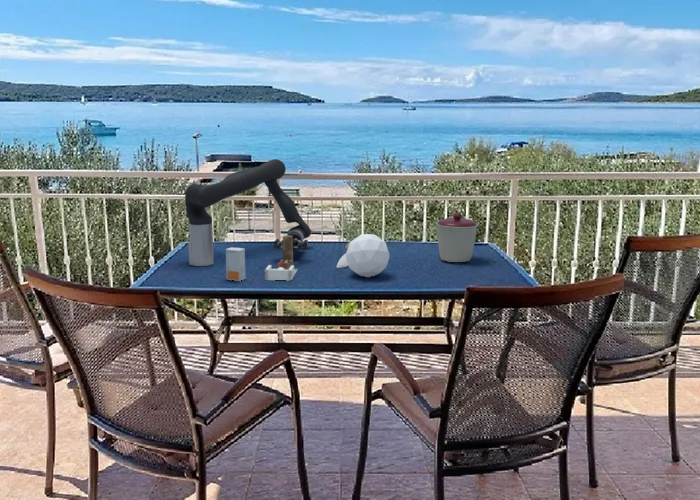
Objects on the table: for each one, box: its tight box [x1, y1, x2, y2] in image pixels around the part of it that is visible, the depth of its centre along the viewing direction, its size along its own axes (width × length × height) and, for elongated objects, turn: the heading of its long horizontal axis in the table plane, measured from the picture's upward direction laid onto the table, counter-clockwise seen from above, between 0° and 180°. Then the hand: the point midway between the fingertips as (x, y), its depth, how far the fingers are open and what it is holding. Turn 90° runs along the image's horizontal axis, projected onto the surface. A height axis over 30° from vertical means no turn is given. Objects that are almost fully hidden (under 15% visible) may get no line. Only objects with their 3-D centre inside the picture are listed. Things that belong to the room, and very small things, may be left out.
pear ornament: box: [336, 233, 391, 278], centre depth 237 cm, size 16×22×28 cm
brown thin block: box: [277, 234, 294, 270], centre depth 242 cm, size 4×15×12 cm, turn 177°
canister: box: [435, 212, 479, 263], centre depth 257 cm, size 18×18×21 cm
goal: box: [264, 264, 295, 282], centre depth 228 cm, size 10×8×4 cm
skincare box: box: [225, 247, 246, 282], centre depth 224 cm, size 6×4×12 cm
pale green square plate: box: [272, 267, 299, 276], centre depth 237 cm, size 10×9×1 cm
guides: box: [279, 259, 294, 268], centre depth 245 cm, size 5×1×3 cm, turn 87°
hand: (288, 247), depth 249 cm, fingers open, 8 cm apart
